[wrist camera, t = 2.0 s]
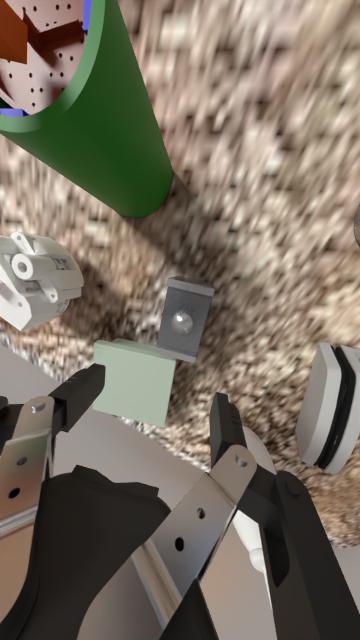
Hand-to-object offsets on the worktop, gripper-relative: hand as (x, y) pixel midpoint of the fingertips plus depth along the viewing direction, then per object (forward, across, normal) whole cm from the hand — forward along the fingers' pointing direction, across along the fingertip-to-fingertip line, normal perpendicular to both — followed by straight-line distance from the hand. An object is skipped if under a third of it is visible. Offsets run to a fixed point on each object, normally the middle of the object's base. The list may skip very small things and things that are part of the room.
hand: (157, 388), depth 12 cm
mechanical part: (+16, +21, -3) cm, 27 cm away
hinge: (+16, -22, +7) cm, 28 cm away
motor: (+16, +10, -18) cm, 26 cm away
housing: (+16, 0, -2) cm, 16 cm away
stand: (+16, +6, +10) cm, 20 cm away
